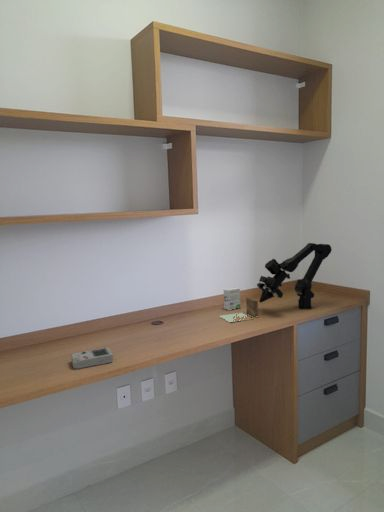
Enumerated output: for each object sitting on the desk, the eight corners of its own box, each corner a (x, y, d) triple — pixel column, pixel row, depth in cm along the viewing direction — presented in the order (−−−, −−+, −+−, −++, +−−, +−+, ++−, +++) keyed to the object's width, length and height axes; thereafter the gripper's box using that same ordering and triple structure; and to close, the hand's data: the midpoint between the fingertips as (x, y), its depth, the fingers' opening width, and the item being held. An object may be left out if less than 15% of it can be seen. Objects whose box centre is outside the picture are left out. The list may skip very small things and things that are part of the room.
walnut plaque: (250, 313, 209) (250, 297, 208) (258, 317, 201) (257, 300, 200) (246, 314, 208) (246, 298, 207) (253, 317, 200) (253, 301, 199)
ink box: (235, 306, 225) (235, 287, 224) (240, 308, 221) (240, 288, 219) (223, 309, 221) (223, 289, 219) (229, 310, 216) (228, 290, 215)
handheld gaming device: (71, 362, 151) (71, 353, 150) (109, 355, 157) (108, 346, 156) (74, 371, 143) (73, 361, 142) (113, 363, 148) (112, 354, 148)
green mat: (242, 313, 210) (242, 312, 210) (254, 319, 197) (254, 318, 197) (218, 316, 206) (218, 315, 206) (230, 323, 193) (230, 322, 193)
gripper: (259, 268, 214) (242, 289, 212) (277, 272, 197) (259, 296, 194) (271, 280, 218) (255, 301, 215) (290, 286, 200) (272, 309, 198)
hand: (260, 302), depth 205 cm, fingers closed
